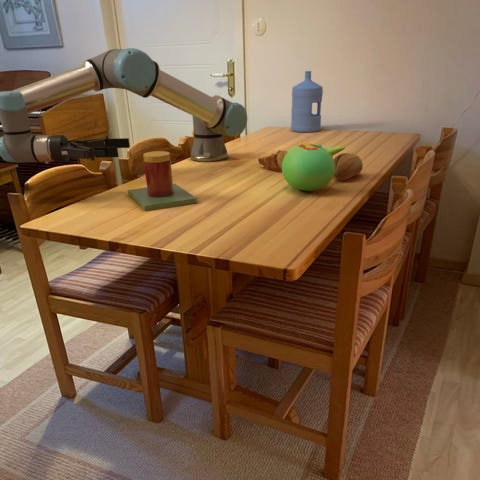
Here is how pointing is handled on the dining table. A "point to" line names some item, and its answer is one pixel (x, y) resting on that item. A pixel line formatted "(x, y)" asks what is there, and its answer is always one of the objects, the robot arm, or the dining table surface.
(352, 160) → the bread roll
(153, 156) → the jam lid
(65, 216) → the dining table surface
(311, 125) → the water jug
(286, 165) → the toy bird
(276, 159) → the croissant
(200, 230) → the dining table surface
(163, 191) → the jam jar
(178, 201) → the corner board
